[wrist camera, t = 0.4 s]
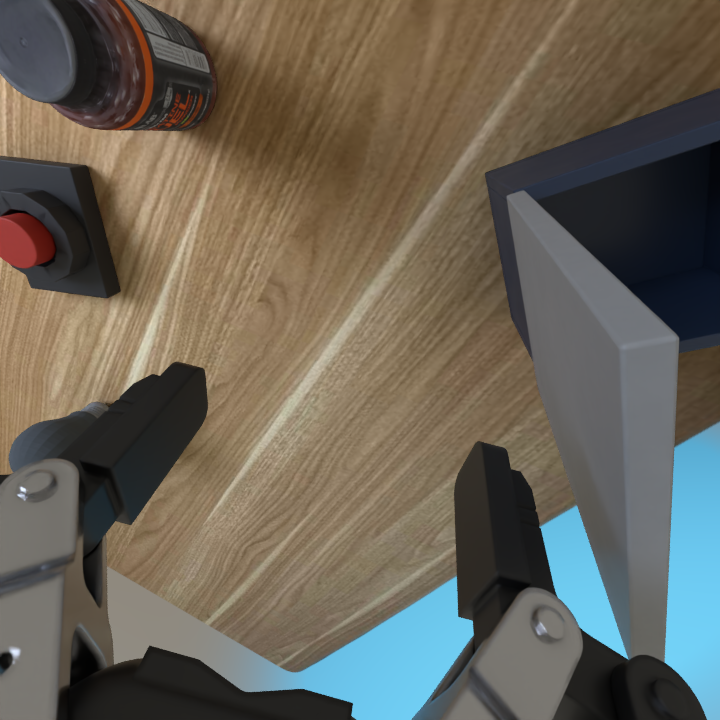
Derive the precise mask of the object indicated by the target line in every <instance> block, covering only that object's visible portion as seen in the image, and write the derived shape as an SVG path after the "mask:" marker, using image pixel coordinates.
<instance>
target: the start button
mask: <svg viewBox="0 0 720 720" xmlns="http://www.w3.org/2000/svg"><path fill="white" fill-rule="evenodd" d="M55 253H56V245H55V242H54V239H53V236H52V234H51V233H50V232H49V230H48V229H47V228H46V227H45V225H44V224H43V223H42V222H40V221H39V220H38V219H36V218H35V217H33V216H31V215H28V214H24V213H16V214H11V215H6V216H1V217H0V257H1V258H2V259H4V260H5V261H6V262H8V263H9V264H11V265H13V266H15V267H19V268H31V267H34V266H36V265H39V264H42V263H45V262H48V261H50V260H51V259H52V258H53V257H54V255H55Z"/></svg>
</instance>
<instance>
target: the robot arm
mask: <svg viewBox="0 0 720 720" xmlns="http://www.w3.org/2000/svg"><path fill="white" fill-rule="evenodd" d="M207 410H208V400H207V388H206V376H205V370H204V369H203V368H200V367H197V366H193V365H189V364H185V363H181V362H174V363H172V364H171V365H170V366H169V367H168V368H167V369H166V370H165V371H164V372H163V373H162V374H161V375H160V376H158V375H154V374H152V375H150V376H148V377H146V378H144V379H142V380H140V381H138V382H136V383H134V384H133V385H132V386H131V387H130V388H129V389H128V390H127V391H126V392H125V393H124V394H122V395H121V396H120V399H119V400H116V401H115V402H114V403H113V404H112V405H111V406H110V407H109V408H108V411H105V412H104V413H103V414H102V415H101V416H100V417H99V418H98V419H97V420H95V421H94V422H93V423H92V424H91V425H90V426H89V427H88V428H87V429H86V430H85V431H84V432H83V433H82V434H81V435H80V436H79V437H78V438H77V439H76V440H75V441H74V442H73V443H72V444H71V445H70V446H68V447H67V448H66V449H65V450H64V451H63V452H62V453H61V454H60V455H59V456H58V457H56V458H53V459H44V460H40V461H36V462H33V463H30V464H28V465H26V466H24V467H21V468H20V469H18V470H17V471H15V472H14V473H12V474H10V475H0V720H356V719H355V718H353V717H352V716H351V713H352V706H353V703H350V702H347V701H344V700H340V699H336V698H333V697H329V696H326V695H322V694H318V693H315V692H312V691H308V690H305V689H294V690H278V691H263V692H244V691H242V690H240V689H239V688H237V687H236V686H234V685H233V684H232V683H230V682H229V681H228V680H226V679H225V678H224V677H222V676H221V675H219V674H218V673H216V672H215V671H214V670H213V669H211V668H210V667H208V666H207V665H205V664H204V663H203V662H201V661H200V660H198V659H195V658H191V657H188V656H184V655H181V654H177V653H174V652H170V651H167V650H163V649H159V648H156V647H152V646H149V648H148V650H147V651H146V653H145V655H144V657H143V658H142V659H134V660H129V661H124V662H121V663H118V664H115V665H114V659H113V658H114V657H113V641H112V633H111V628H110V624H109V619H108V610H107V609H108V608H107V538H106V533H107V531H108V530H109V529H110V527H111V526H112V525H113V523H114V522H115V521H118V522H121V523H125V524H129V525H132V523H133V522H134V520H135V519H136V518H137V516H138V515H139V513H140V512H141V510H142V509H143V508H144V506H145V505H146V503H147V502H148V501H149V499H150V498H151V496H152V495H153V494H154V492H155V491H156V489H157V488H158V486H159V485H160V484H161V482H162V481H163V479H164V478H165V477H166V475H167V474H168V472H169V471H170V470H171V468H172V467H173V465H174V464H175V462H176V461H177V460H178V458H179V457H180V455H181V454H182V453H183V451H184V450H185V448H186V447H187V445H188V444H189V443H190V441H191V440H192V438H193V437H194V436H195V434H196V433H197V431H198V430H199V429H200V427H201V426H202V424H203V422H204V420H205V417H206V414H207ZM454 503H455V532H456V562H457V589H458V590H457V591H458V616H459V617H461V618H465V619H469V620H472V621H473V629H474V636H473V637H472V638H471V639H470V641H469V642H468V644H467V645H466V647H465V648H464V649H463V651H462V652H461V653H460V655H459V656H458V658H457V659H456V661H455V662H454V664H453V665H452V666H451V668H450V669H449V671H448V672H447V673H446V675H445V676H444V678H443V679H442V681H441V682H440V683H439V685H438V686H437V688H436V689H435V690H434V692H433V693H432V695H431V696H430V698H429V699H428V700H427V702H426V703H425V704H424V705H423V707H422V708H421V709H420V710H419V711H418V713H417V714H416V715H415V716H414V717H413V718H412V720H707V719H706V716H705V714H704V711H703V709H702V707H701V705H700V703H699V701H698V699H697V697H696V696H695V694H694V693H693V691H692V690H691V688H690V687H689V686H688V684H687V683H686V682H685V681H684V680H683V679H682V677H681V676H680V675H679V674H678V673H677V672H676V671H674V670H673V669H672V668H671V667H670V666H668V665H667V664H666V663H664V662H663V661H661V660H659V659H657V658H655V657H652V656H649V655H637V656H635V657H633V658H631V659H629V660H628V659H626V658H624V657H623V656H621V655H620V654H618V653H617V652H615V651H613V650H612V649H610V648H609V647H607V646H606V645H604V644H602V643H601V642H599V641H597V640H596V639H594V638H593V637H591V636H590V635H588V634H587V633H586V632H584V631H583V630H582V629H581V628H580V627H579V625H578V623H577V621H576V619H575V618H574V616H573V614H572V613H571V611H570V610H569V609H568V608H567V606H566V605H565V604H564V603H563V602H562V601H561V600H560V599H558V597H557V595H556V592H555V589H554V586H553V581H552V576H551V572H550V567H549V563H548V559H547V555H546V550H545V545H544V541H543V537H542V532H541V529H540V528H539V519H538V515H537V512H536V511H535V510H536V506H535V502H534V497H533V493H532V489H531V488H530V486H529V484H528V483H527V481H526V480H525V478H524V476H523V475H522V473H521V472H520V471H516V470H512V469H511V468H510V463H509V457H508V452H507V450H506V449H505V448H503V447H499V446H495V445H491V444H488V443H484V442H480V441H478V442H476V443H475V445H474V447H473V448H472V450H471V452H470V454H469V455H468V457H467V459H466V461H465V462H464V464H463V466H462V468H461V469H460V471H459V473H458V476H457V479H456V483H455V489H454Z"/></svg>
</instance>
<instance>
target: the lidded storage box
mask: <svg viewBox="0 0 720 720" xmlns="http://www.w3.org/2000/svg"><path fill="white" fill-rule="evenodd" d="M485 177H486V182H487V187H488V193H489V198H490V204H491V209H492V215H493V220H494V226H495V231H496V236H497V242H498V247H499V253H500V258H501V264H502V269H503V275H504V280H505V285H506V291H507V296H508V302H509V307H510V313H511V318H512V321H513V322H514V324H515V326H516V328H517V330H518V332H519V334H520V336H521V338H522V340H523V342H524V344H525V346H526V348H527V350H528V352H529V354H530V357H531V359H532V361H533V356H532V350H531V344H530V338H529V332H528V326H527V320H526V314H525V308H524V302H523V295H522V289H521V283H520V277H519V271H518V265H517V259H516V253H515V247H514V240H513V234H512V228H511V222H510V216H509V210H508V204H507V196H508V195H510V194H513V193H516V192H519V191H522V190H524V191H525V192H526V193H527V194H529V195H530V196H531V197H532V198H533V199H534V200H535V201H536V202H537V203H538V204H539V205H540V206H541V207H542V208H543V209H544V210H545V211H547V212H548V213H549V214H550V215H551V216H552V217H553V218H554V219H555V220H556V221H557V222H558V223H559V224H560V225H561V226H562V227H563V228H565V229H566V230H567V231H568V232H569V233H570V234H571V235H572V236H573V237H574V238H575V239H576V240H577V241H578V242H579V243H580V244H581V245H583V246H584V247H585V248H586V249H587V250H588V251H589V252H590V253H591V254H592V255H593V256H594V257H595V258H596V259H597V260H598V261H599V262H601V263H602V264H603V265H604V266H605V267H606V268H607V269H608V270H609V271H610V272H611V273H612V274H613V275H614V276H615V277H616V278H617V279H619V280H620V281H621V282H622V283H623V284H624V285H625V286H626V287H627V288H628V289H629V290H630V291H631V292H632V293H633V294H634V295H635V296H637V297H638V298H639V299H640V300H641V301H642V302H643V303H644V304H645V305H646V306H647V307H648V308H649V309H650V310H651V311H652V312H653V313H655V314H656V315H657V316H658V317H659V318H660V319H661V320H662V321H663V322H664V323H665V324H666V325H667V326H668V327H669V328H670V329H671V330H673V331H674V332H675V333H676V334H677V336H678V337H679V353H683V352H688V351H693V350H698V349H703V348H708V347H713V346H718V345H720V88H718V89H716V90H713V91H710V92H707V93H705V94H702V95H699V96H696V97H694V98H691V99H688V100H685V101H683V102H680V103H677V104H674V105H672V106H669V107H666V108H663V109H660V110H658V111H655V112H652V113H649V114H647V115H644V116H641V117H638V118H636V119H633V120H630V121H627V122H625V123H622V124H619V125H616V126H613V127H611V128H608V129H605V130H602V131H600V132H597V133H594V134H591V135H589V136H586V137H583V138H580V139H578V140H575V141H572V142H569V143H567V144H564V145H561V146H558V147H555V148H553V149H550V150H547V151H544V152H542V153H539V154H536V155H533V156H531V157H528V158H525V159H522V160H520V161H517V162H514V163H511V164H509V165H506V166H503V167H500V168H497V169H495V170H492V171H489V172H486V173H485Z"/></svg>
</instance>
